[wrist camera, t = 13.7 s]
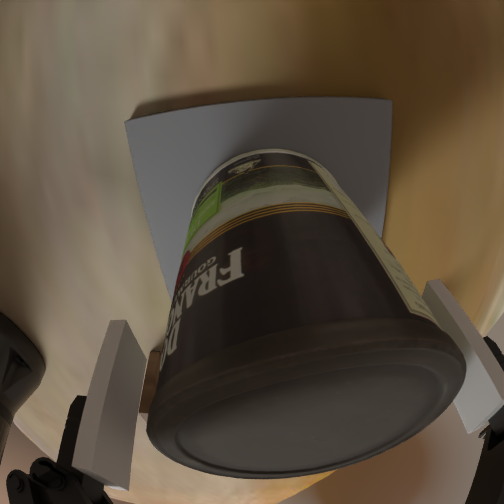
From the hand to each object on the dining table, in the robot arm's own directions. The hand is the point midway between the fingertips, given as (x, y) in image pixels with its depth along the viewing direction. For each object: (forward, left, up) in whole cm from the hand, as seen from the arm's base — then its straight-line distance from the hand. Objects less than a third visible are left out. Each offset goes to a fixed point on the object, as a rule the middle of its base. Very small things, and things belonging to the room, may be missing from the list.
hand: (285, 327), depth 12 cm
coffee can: (0, 0, -9) cm, 9 cm away
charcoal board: (0, 0, -10) cm, 10 cm away
